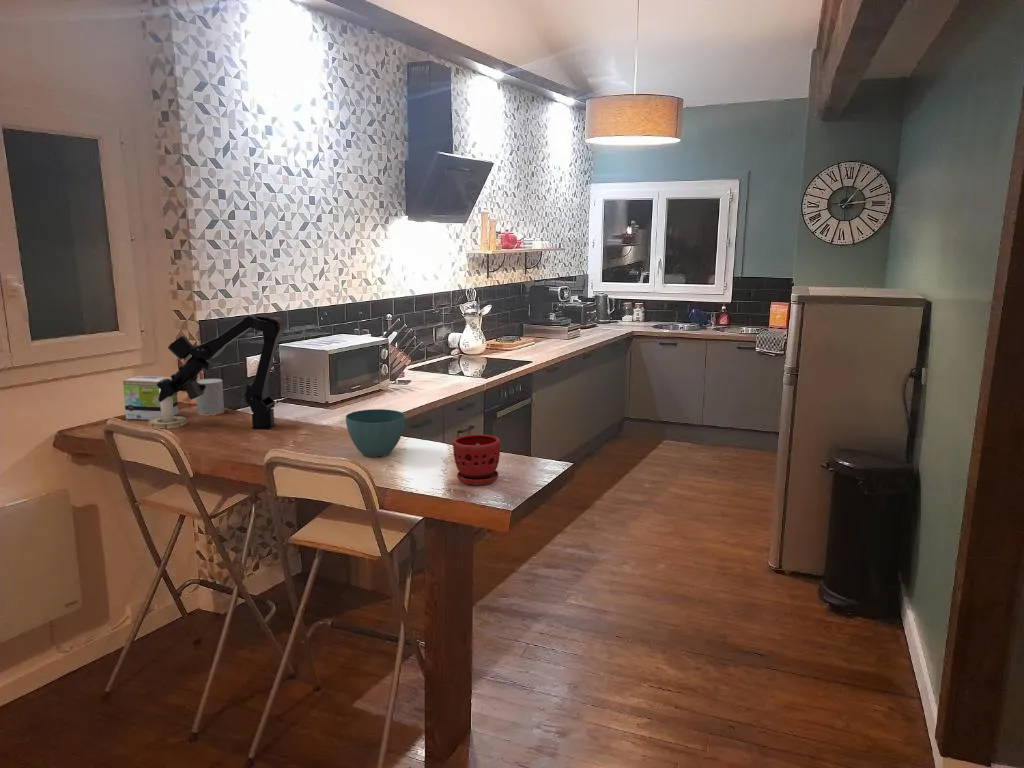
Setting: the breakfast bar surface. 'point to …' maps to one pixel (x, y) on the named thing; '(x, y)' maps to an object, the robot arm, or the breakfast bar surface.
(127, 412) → the tea box
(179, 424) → the bead ring
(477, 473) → the plant pot
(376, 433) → the plant pot
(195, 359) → the robot arm
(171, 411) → the needle peg
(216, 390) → the gray cylinder
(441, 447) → the breakfast bar surface
